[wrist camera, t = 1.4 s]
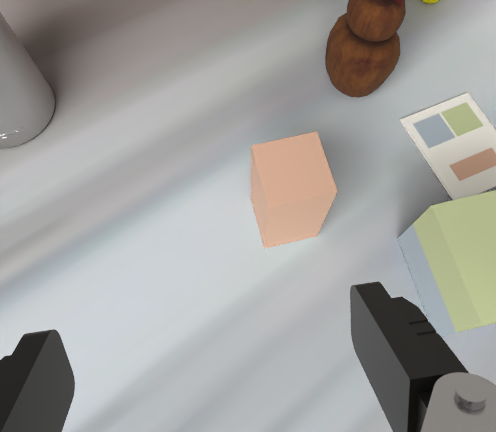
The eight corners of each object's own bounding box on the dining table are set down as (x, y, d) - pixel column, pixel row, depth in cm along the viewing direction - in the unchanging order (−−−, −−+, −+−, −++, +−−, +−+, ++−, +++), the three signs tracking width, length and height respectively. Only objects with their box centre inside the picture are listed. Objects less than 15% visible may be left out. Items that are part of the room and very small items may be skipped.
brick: (250, 199, 42) (251, 145, 32) (301, 187, 42) (316, 131, 33) (264, 248, 40) (268, 207, 31) (317, 235, 40) (337, 191, 31)
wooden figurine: (309, 74, 47) (335, -59, 33) (349, 47, 48) (391, -92, 34) (353, 117, 45) (401, -5, 31) (394, 87, 46) (457, -42, 32)
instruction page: (400, 120, 45) (400, 118, 44) (467, 93, 46) (468, 91, 45) (455, 204, 41) (456, 203, 41) (525, 173, 43) (527, 171, 42)
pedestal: (397, 238, 40) (431, 205, 33) (489, 216, 41) (542, 179, 33) (435, 337, 37) (482, 326, 30) (534, 311, 38) (604, 294, 30)
